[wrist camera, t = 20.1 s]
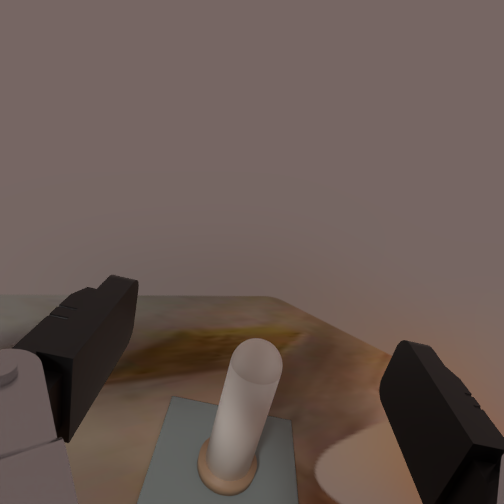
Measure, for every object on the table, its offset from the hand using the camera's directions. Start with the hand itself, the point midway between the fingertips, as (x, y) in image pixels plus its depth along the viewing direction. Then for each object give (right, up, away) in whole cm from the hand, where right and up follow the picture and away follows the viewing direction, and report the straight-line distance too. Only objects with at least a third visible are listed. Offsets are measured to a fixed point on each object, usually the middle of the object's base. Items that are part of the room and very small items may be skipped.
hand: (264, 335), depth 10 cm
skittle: (-3, -21, +28) cm, 35 cm away
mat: (-3, -21, +29) cm, 36 cm away
